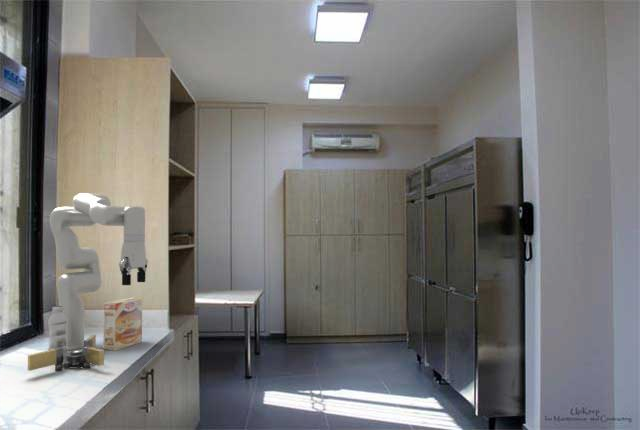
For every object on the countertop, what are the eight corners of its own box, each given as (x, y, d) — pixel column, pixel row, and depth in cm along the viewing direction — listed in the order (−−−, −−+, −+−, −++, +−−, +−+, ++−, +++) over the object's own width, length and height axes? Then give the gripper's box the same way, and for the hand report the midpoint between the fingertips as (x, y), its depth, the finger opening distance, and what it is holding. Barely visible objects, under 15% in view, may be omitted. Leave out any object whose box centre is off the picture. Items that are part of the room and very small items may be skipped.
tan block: (80, 368, 153) (81, 347, 154) (88, 366, 156) (88, 345, 156) (97, 373, 147) (97, 351, 148) (105, 371, 150) (105, 349, 150)
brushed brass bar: (60, 368, 154) (60, 347, 154) (64, 369, 152) (64, 348, 153) (26, 377, 145) (27, 354, 145) (30, 378, 143) (30, 355, 143)
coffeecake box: (115, 350, 176) (115, 303, 177) (102, 349, 179) (103, 302, 180) (142, 342, 190) (143, 297, 191) (130, 340, 193) (130, 297, 194)
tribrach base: (56, 368, 154) (57, 353, 154) (81, 360, 163) (81, 346, 164) (74, 371, 151) (74, 356, 151) (98, 363, 160) (98, 348, 160)
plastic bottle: (71, 357, 168) (72, 305, 169) (55, 362, 162) (56, 308, 162) (59, 355, 170) (59, 304, 171) (43, 360, 164) (43, 307, 165)
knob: (91, 360, 163) (91, 340, 163) (82, 361, 162) (83, 341, 162) (97, 353, 173) (97, 334, 174) (89, 353, 172) (89, 334, 173)
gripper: (138, 238, 174) (137, 280, 173) (111, 239, 157) (110, 286, 156) (155, 238, 172) (155, 281, 172) (130, 239, 155) (129, 286, 155)
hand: (134, 283), depth 164 cm, fingers open, 9 cm apart
